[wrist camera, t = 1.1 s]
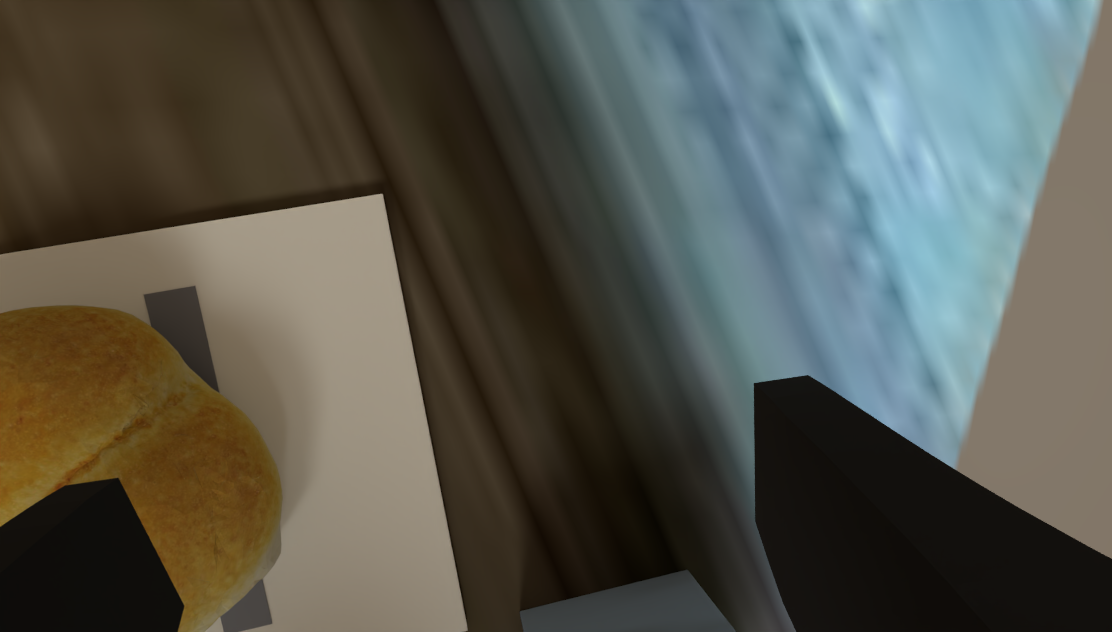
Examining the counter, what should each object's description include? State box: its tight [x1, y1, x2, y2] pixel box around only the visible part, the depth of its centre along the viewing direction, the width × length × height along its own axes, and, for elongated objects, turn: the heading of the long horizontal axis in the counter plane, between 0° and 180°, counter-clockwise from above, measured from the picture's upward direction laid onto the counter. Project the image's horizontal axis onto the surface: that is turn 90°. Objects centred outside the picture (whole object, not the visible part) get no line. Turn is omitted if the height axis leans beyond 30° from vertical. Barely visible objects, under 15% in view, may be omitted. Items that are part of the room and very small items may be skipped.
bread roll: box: [0, 305, 283, 632], centre depth 16 cm, size 8×9×4 cm
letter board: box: [0, 194, 468, 632], centre depth 19 cm, size 12×16×1 cm
